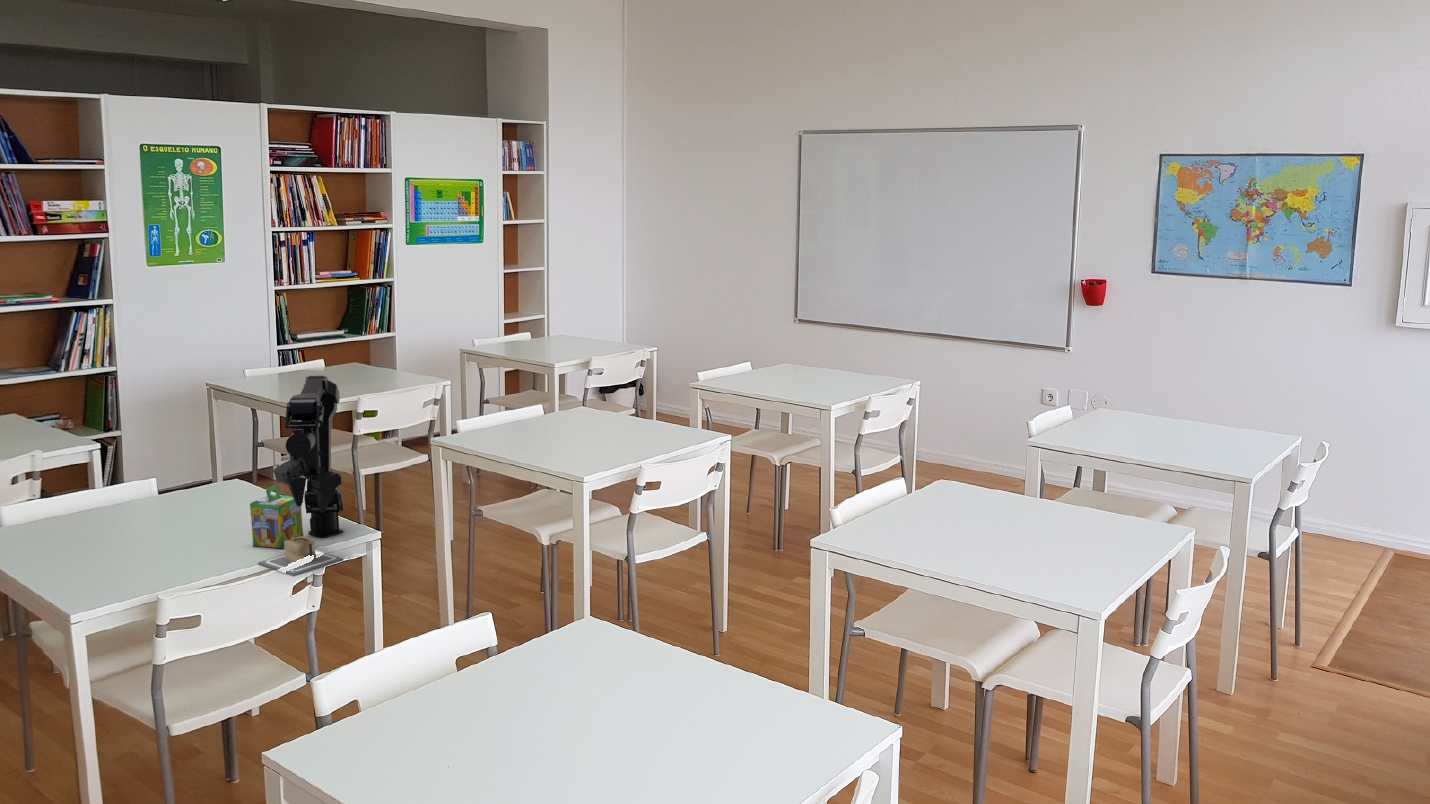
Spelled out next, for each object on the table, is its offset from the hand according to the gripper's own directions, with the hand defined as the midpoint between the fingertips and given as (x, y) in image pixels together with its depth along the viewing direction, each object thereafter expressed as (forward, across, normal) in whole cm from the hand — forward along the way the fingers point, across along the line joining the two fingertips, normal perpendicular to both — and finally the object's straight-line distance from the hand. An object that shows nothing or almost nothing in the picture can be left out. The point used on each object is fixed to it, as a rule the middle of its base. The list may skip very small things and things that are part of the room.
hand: (310, 509), depth 274 cm
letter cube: (+11, +2, -5) cm, 13 cm away
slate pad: (+12, +2, -5) cm, 13 cm away
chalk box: (+12, -16, +1) cm, 20 cm away
